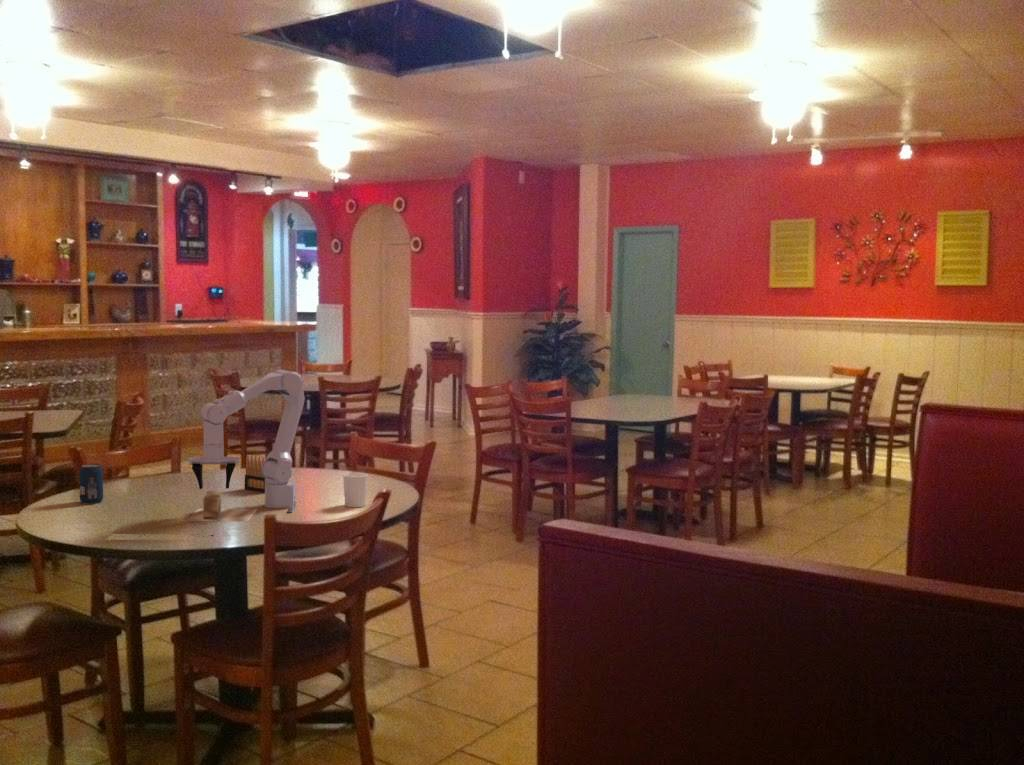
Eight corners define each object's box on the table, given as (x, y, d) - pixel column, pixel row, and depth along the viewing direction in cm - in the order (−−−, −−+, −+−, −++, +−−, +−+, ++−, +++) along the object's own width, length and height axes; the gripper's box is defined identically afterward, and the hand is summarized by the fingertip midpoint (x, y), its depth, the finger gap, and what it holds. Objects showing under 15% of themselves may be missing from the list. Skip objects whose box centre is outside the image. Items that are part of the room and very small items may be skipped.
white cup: (371, 503, 329) (371, 473, 328) (361, 508, 321) (361, 478, 320) (349, 501, 331) (349, 471, 330) (338, 506, 324) (339, 476, 323)
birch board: (257, 513, 312) (257, 508, 312) (248, 526, 296) (247, 521, 296) (198, 513, 311) (198, 508, 311) (185, 525, 295) (185, 520, 295)
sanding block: (221, 509, 310) (220, 490, 309) (217, 518, 298) (217, 498, 298) (207, 510, 309) (207, 490, 308) (203, 519, 297) (203, 499, 297)
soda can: (94, 498, 328) (93, 462, 327) (108, 501, 324) (107, 464, 323) (75, 502, 322) (74, 465, 321) (89, 505, 318) (88, 468, 317)
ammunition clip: (271, 492, 344) (271, 457, 342) (267, 493, 342) (267, 458, 341) (248, 488, 349) (247, 454, 348) (244, 489, 347) (244, 454, 346)
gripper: (240, 441, 308) (240, 485, 309) (190, 441, 305) (191, 485, 307) (237, 444, 301) (238, 489, 302) (187, 445, 298) (187, 490, 300)
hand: (214, 488), depth 304 cm, fingers open, 7 cm apart
